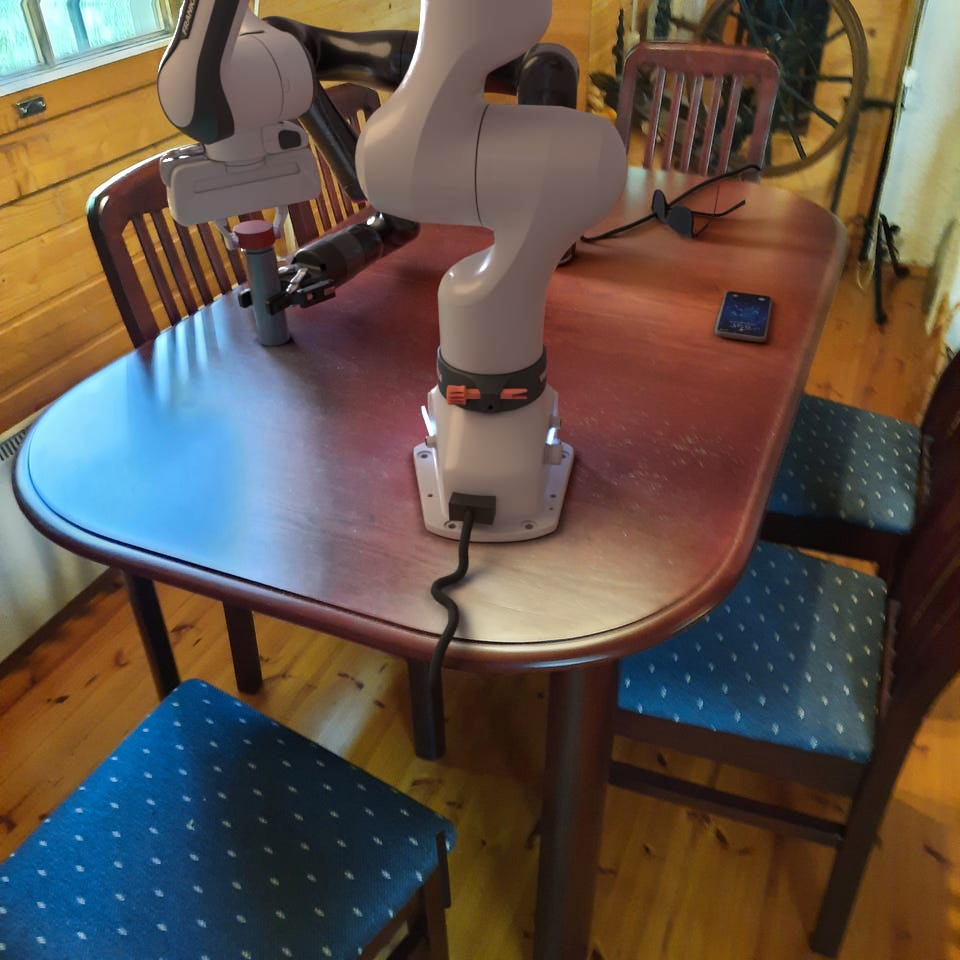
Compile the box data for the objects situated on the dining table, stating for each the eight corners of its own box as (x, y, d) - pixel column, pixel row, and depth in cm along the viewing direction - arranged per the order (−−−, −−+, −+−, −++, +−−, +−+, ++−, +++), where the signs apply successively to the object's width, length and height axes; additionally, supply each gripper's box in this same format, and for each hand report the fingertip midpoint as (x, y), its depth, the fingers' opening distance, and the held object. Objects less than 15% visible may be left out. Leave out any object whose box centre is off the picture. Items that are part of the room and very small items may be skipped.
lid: (239, 236, 120) (236, 220, 118) (278, 234, 120) (275, 219, 118) (232, 251, 115) (229, 234, 114) (273, 249, 115) (270, 233, 114)
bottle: (281, 347, 124) (262, 241, 115) (253, 344, 125) (232, 238, 116) (294, 333, 128) (277, 229, 118) (267, 330, 129) (248, 227, 119)
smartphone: (773, 295, 132) (766, 339, 121) (772, 301, 133) (765, 345, 121) (725, 289, 134) (713, 331, 123) (724, 295, 135) (712, 337, 123)
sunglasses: (756, 231, 156) (761, 204, 153) (684, 241, 153) (688, 214, 150) (711, 202, 169) (714, 176, 166) (644, 211, 166) (646, 185, 163)
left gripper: (162, 158, 103) (188, 267, 111) (319, 130, 111) (332, 233, 120) (147, 146, 107) (173, 252, 115) (300, 120, 116) (314, 220, 124)
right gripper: (290, 231, 133) (211, 271, 121) (364, 247, 127) (288, 290, 115) (297, 277, 137) (221, 319, 126) (369, 294, 132) (297, 340, 120)
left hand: (255, 242), depth 117 cm, fingers closed on lid, 5 cm apart
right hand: (254, 305), depth 121 cm, fingers closed on bottle, 4 cm apart
